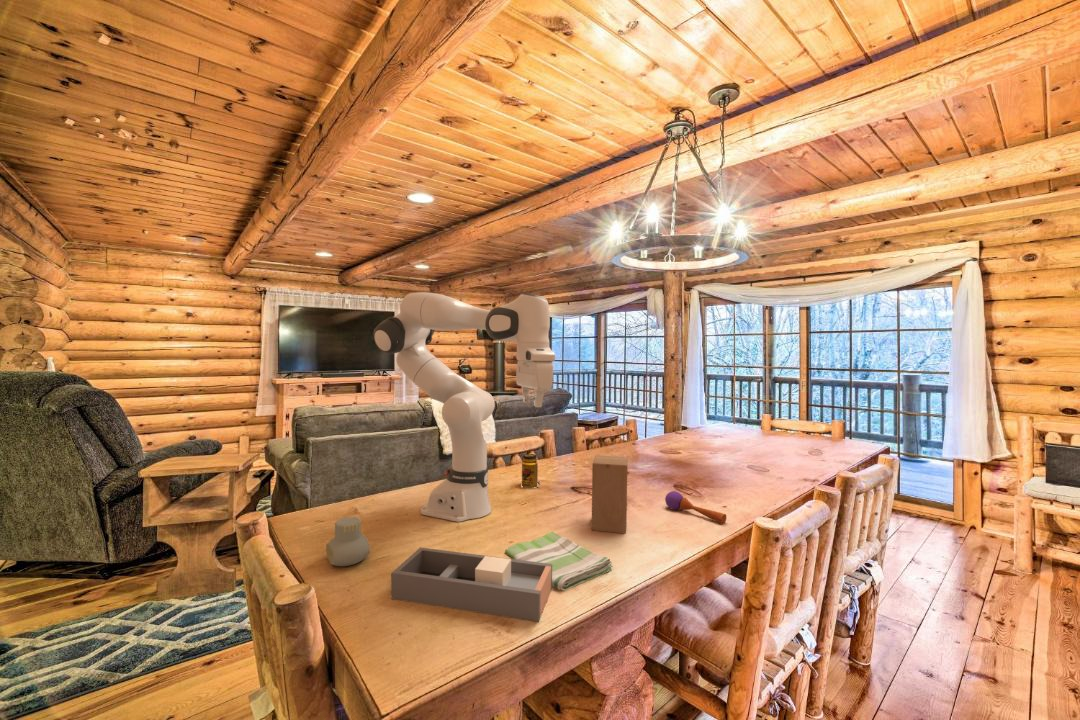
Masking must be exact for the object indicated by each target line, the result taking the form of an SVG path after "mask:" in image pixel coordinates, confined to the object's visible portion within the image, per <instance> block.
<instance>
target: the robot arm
mask: <svg viewBox="0 0 1080 720" xmlns="http://www.w3.org/2000/svg"><path fill="white" fill-rule="evenodd" d="M399 306H400V307H399V310H400V311H399V313H397V314H396V315H395V316H389V317H388V318H385V320H383V321H382V322H380V323H378V325H376V327H374V329H373V337H372V338H373V341H374V343H375V345H376V347H377V348H378V349H379V351H381V352H382V353H383V354H387V355H393V354H397V355H396V364H397V366H398V367H399V369H400V370H401V371H402V373H403V374H404V375H405V376H406V377H407V378H408V379H409V380H410V381H411V382H412V383H413V384H414V385H416V386H417V387H418V388H419V389H420V390H421V391H422V392H424V393H425V394H426V395H427V396H429V398H430V399H433V400H435V401H437V402H439V403H442V404H443V405H442V407H441V417H442V420H443V421H444V423H445V424H446V426H447V428H448V430H449V435H450V439H451V440H450V441H451V447H452V448H451V451H452V452H451V454H452V455H451V456H452V457H451V460H452V461H451V463H452V465H451V466H450V467H449V468H448V469H447V470H446V471H444V476H446V479H444V480H443V481H442V482H440V483H439V484H438V485H437V486H435V487H434V488H433V489H432V490H431V492H430V493H429V496H428V501H427V502H426V503H425V504H424V505H422V507H421V508H420V514H421V515H423V516H428V517H432V518H437V519H443V520H446V521H453V522H456V523H457V522H460V523H461V522H464V521H467V520H473V519H479V518H482V517H486V516H487V515H489V514H491V512H492V507H491V503H490V497H489V490H488V484H489V467H488V465H487V464H488V444H487V443H488V442H487V441H486V440H485V437H484V433H483V429H482V423H483V422H484V421H486V420H488V419H489V418H490V416H491V415H492V414H493V412H494V410H495V407H496V403H495V398H494V397H493V396H492V394H491V393H489V392H488V391H486V390H484V389H482V388H481V387H479V386H477V385H476V384H474V383H472V382H471V381H469V380H467V379H466V378H464V377H462V376H461V375H459V374H458V373H455V372H454V370H452V369H451V368H449V366H447V365H446V364H445V363H443V362H442V361H441V359H439V358H438V357H436V356H435V355H434V354H432V353H431V352H430V351H429V350H428V348H427V346H426V345H429V344H431V342H432V341H433V335H434V333H435V331H444V332H445V331H461V330H483V331H486V334H487V335H488V337H490V338H491V339H493V340H495V341H499V342H508V343H509V342H510V343H511V342H512V343H516V360H517V362H516V363H517V364H516V373H515V375H516V376H515V382H516V386H520V387H521V393H522V402H523V403H525V404H530V403H531V398H532V397H531V394H530V392H531V390H533V391H534V394H535V398H534V400H533V407H535V408H542V407H543V399H544V396H545V392H549V391H551V390H552V387H553V380H554V363H553V362H555V360H556V354H555V352H554V351H552V349H551V347H550V338H549V331H550V326H551V321H550V320H551V317H550V316H551V315H550V305H549V301H548V299H546V297H544V296H542V295H539V294H533V293H527V292H526V293H520V295H518V297H517V298H516V299H514V300H512V301H511V302H508V303H506V304H504V305H501V306H497V307H494V308H492V309H491V310H490V309H484V308H481V307H477V306H474V305H471V304H469V303H467V302H464V301H462V300H459V299H457V298H454V297H451V296H448V295H445V294H441V293H437V292H436V293H435V292H427V291H426V292H425V291H420V292H410V293H407V294H406V295H405V296H404V297H403V298H402V299H401V302H400V305H399Z"/></svg>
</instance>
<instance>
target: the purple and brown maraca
mask: <svg viewBox="0 0 1080 720" xmlns="http://www.w3.org/2000/svg"><path fill="white" fill-rule="evenodd" d="M664 499H665V500H664V501H665V504H666V506H667V507H668V508H669V509H670V510H675V511H678V510H681V511H687V510H688V511H689V510H693V511H695V512H697V513H699V514H701V515H703V516H704V517H707V518H709V519H711V520H712V521H715V522H716V523H718V524H720V525H724V524H726V521H727V514H725V513H722V512H720V511H719V512H718V511H715V510H710V509H706V508H703V507H699V506H695V505H693V504H692V503H691V501H689V500H688V499H687V497H684V496H683V495H682V494H681V493H680V492H679V491H676V490H675V491H674V490H673V491H669V492H668V493H667V494H666V495H665V498H664Z"/></svg>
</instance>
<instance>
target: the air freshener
mask: <svg viewBox="0 0 1080 720" xmlns="http://www.w3.org/2000/svg"><path fill="white" fill-rule="evenodd" d="M361 525H362V522H361V519H360V518H359V517H357V516H348V517H343V518H339V519H338V520H336V521H335V523H334V537H333V538H331V539H330V540H329V541H328V542H327V543H326V547H325V553H326V556H327V557H326V558H327V559H328V562H329V564H330V565H334V566H336V567H349V566H353V565H355V564H358V563H359V562H361V561H363V560H364V559H365V558H367V557H368V555H369V554H370V551H371V550H370V548H371V547H370V543H369V539H368V537H366V535H365V534H362V532H361V531H362V529H361V527H362V526H361Z"/></svg>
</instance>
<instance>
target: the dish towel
mask: <svg viewBox="0 0 1080 720" xmlns="http://www.w3.org/2000/svg"><path fill="white" fill-rule="evenodd" d="M504 553H505V554H506V555H507V556H508V557H510V559H516V560H524V561H532V562H540V563H548V564H552V588H555V589H557V590H558V591H563V592H564V591H565V592H566V591H567V590H570V589H572V588H575V587H576V586H579V585H580V584H583V583H585V582H588V581H590V580H593V579H595V578H596V577H600V576H603V575H604V574H605V573H608V571H609V572H611V571H612V568H613V565H612V563H613V562H612V561H611V559H610V558H609V557H607V556H604V555H600V554H597V553H594V552H593V551H591V550H590V549H588V548H586V547H583V546H581V545H579V544H576V543H575V542H573V541H572V540H570V539H568V538H566V537H565V536H562V535H561V534H558V533H556V532H554V531H551V532H548V533H546V534H544V535H542V536H539V537H537V538H535V539H533V540H530V541H525V542H524V541H523V542H517V543H515V544H513V545H510V546H509V547H508V548H506V549H505V550H504Z"/></svg>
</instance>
